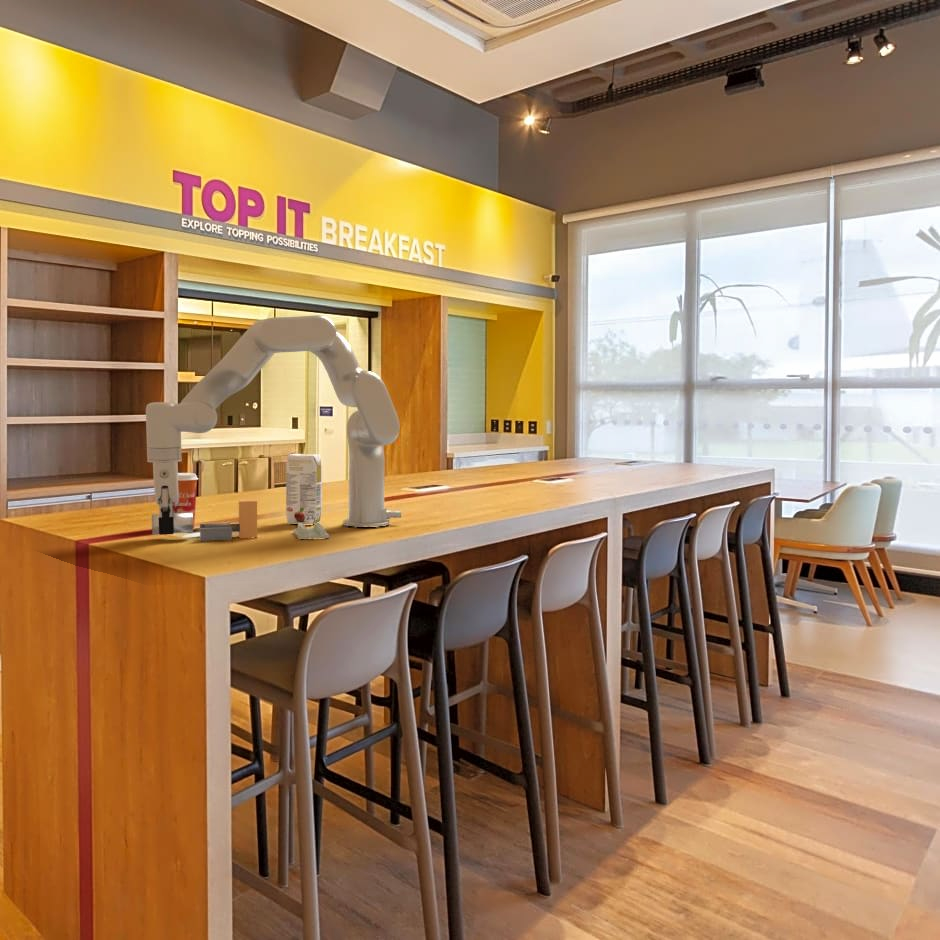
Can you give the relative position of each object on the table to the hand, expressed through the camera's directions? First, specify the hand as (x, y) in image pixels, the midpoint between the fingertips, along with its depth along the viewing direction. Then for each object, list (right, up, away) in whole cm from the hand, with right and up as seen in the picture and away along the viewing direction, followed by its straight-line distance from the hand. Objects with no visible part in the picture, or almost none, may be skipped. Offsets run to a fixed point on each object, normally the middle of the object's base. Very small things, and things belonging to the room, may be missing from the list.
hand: (166, 531), depth 186 cm
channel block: (+10, -2, +4) cm, 11 cm away
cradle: (+32, -2, +10) cm, 34 cm away
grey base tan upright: (+14, -2, +5) cm, 15 cm away
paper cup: (-3, -1, +18) cm, 18 cm away
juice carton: (+26, 0, +29) cm, 39 cm away
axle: (+1, 0, +1) cm, 1 cm away
